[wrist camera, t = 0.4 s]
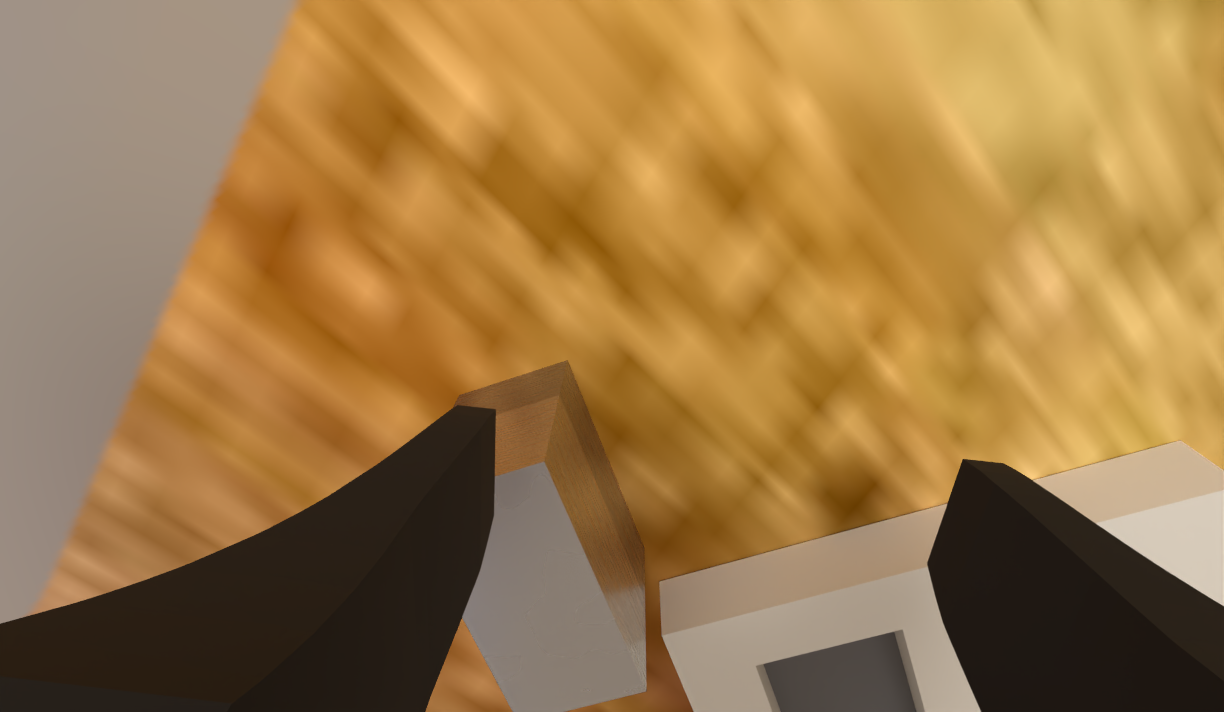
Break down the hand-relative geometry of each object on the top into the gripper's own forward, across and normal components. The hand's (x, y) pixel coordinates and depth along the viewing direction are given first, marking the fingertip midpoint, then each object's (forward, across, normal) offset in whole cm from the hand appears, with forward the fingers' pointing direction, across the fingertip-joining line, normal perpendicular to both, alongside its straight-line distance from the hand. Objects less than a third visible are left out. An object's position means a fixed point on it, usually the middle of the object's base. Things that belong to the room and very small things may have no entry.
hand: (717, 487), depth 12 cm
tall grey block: (+10, +4, +7) cm, 12 cm away
